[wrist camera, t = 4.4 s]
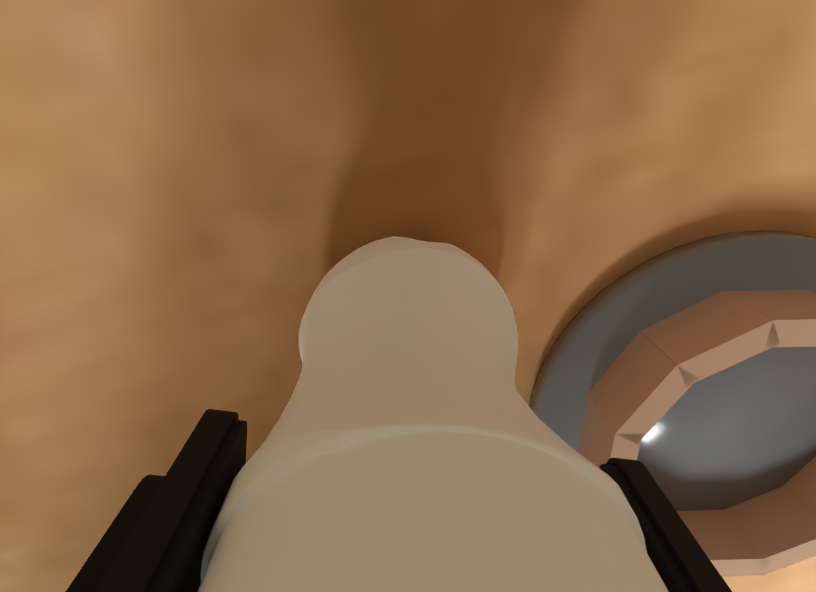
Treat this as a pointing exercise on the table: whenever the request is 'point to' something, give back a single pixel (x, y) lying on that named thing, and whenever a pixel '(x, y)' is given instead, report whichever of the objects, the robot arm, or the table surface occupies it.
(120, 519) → the robot arm
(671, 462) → the ring plate
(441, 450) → the water bottle
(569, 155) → the table surface
